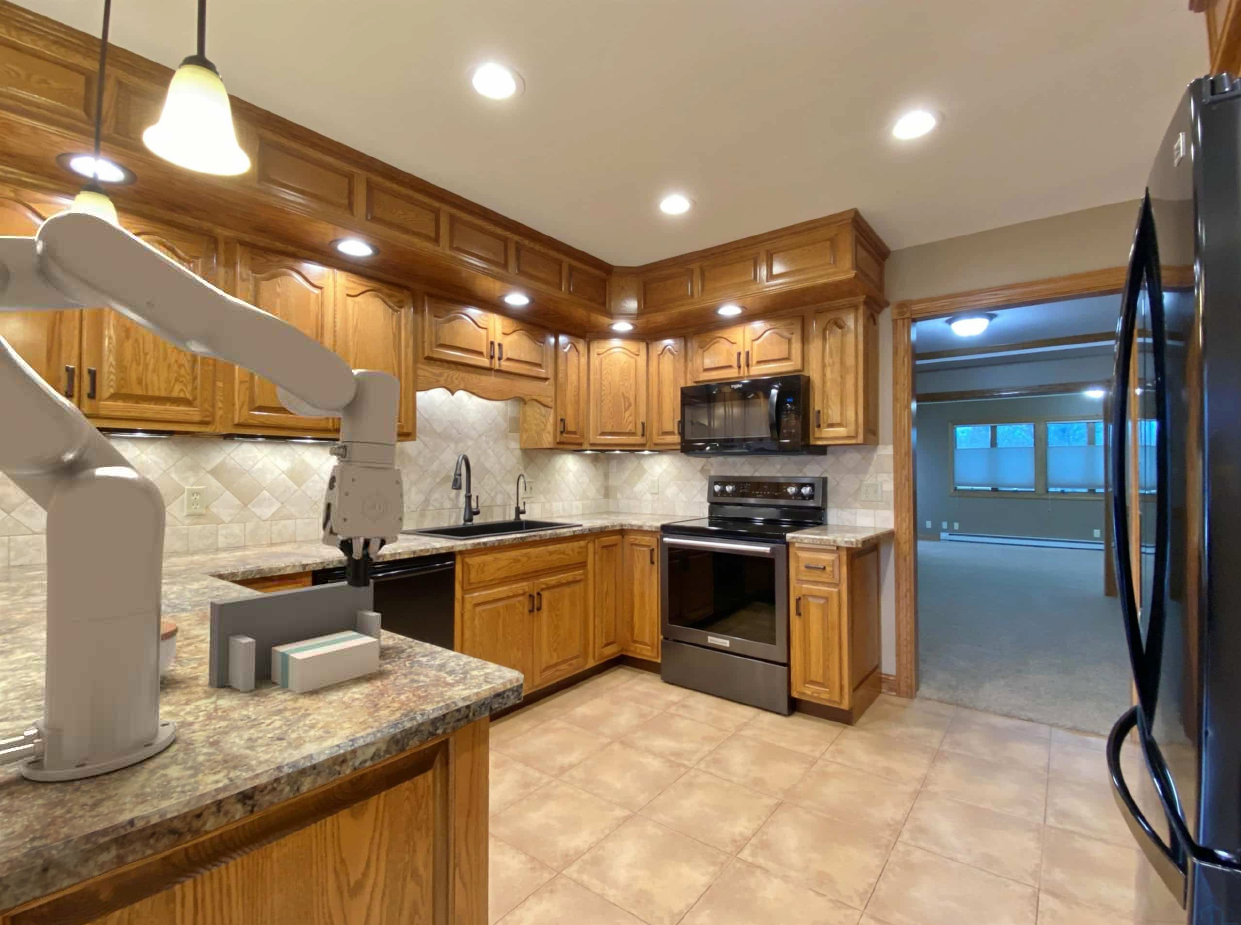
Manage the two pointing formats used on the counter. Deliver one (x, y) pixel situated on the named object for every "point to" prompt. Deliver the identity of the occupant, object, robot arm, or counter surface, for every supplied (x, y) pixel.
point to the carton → (324, 661)
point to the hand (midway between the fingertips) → (358, 585)
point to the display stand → (281, 627)
